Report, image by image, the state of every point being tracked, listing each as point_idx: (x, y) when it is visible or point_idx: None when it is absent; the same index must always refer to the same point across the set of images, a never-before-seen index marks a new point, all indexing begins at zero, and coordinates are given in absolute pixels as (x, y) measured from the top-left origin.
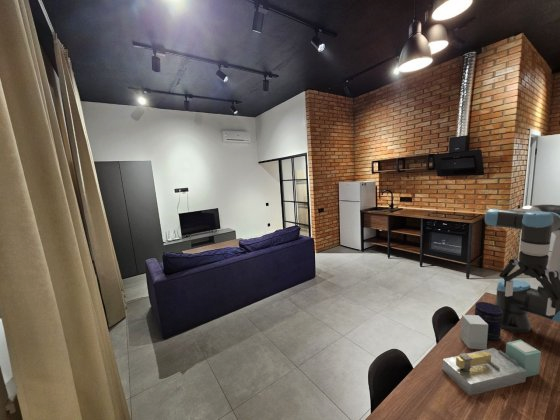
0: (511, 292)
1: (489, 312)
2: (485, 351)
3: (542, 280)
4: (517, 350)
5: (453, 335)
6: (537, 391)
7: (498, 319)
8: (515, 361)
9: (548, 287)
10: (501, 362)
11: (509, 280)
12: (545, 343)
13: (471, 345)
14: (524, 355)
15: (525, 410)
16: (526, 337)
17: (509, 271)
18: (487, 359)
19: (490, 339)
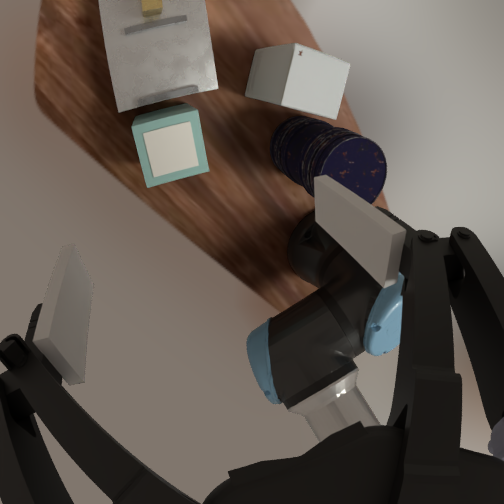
0: (328, 223)
1: (331, 154)
2: (161, 3)
3: (113, 499)
4: (159, 118)
5: None
6: (92, 116)
7: (305, 174)
8: (146, 101)
9: (58, 441)
10: (154, 62)
11: (402, 262)
12: (248, 266)
13: (257, 54)
14: (136, 124)
15: (46, 48)
16: (273, 241)
17: (468, 318)
18: (141, 1)
19: (276, 136)
